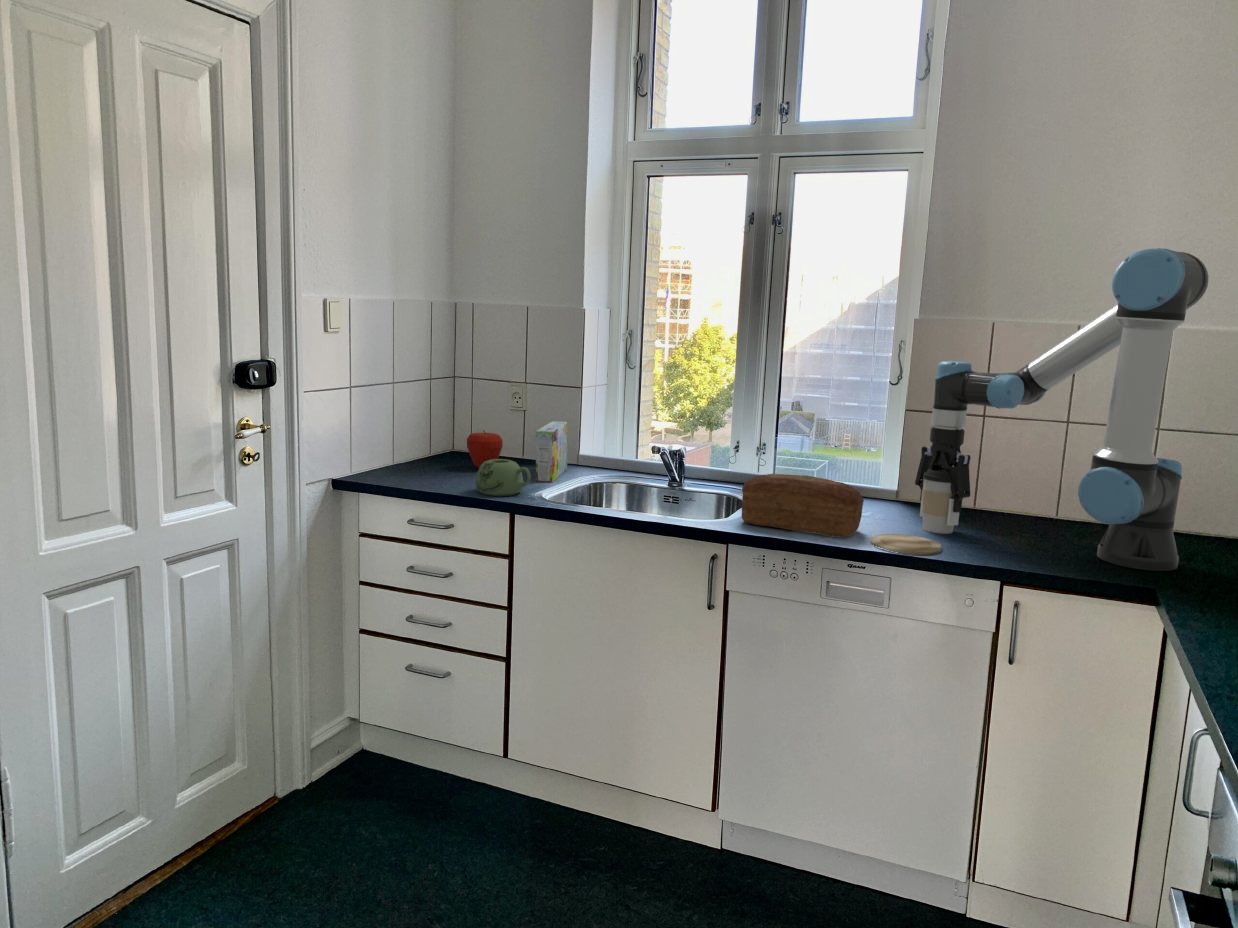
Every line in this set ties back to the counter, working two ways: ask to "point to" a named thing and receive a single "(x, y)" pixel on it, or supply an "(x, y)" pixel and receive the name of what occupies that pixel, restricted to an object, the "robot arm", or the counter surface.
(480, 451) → the apple
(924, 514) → the coffee cup
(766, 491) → the bread
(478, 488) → the mug
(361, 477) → the counter surface
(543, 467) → the snack box
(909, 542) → the coaster
